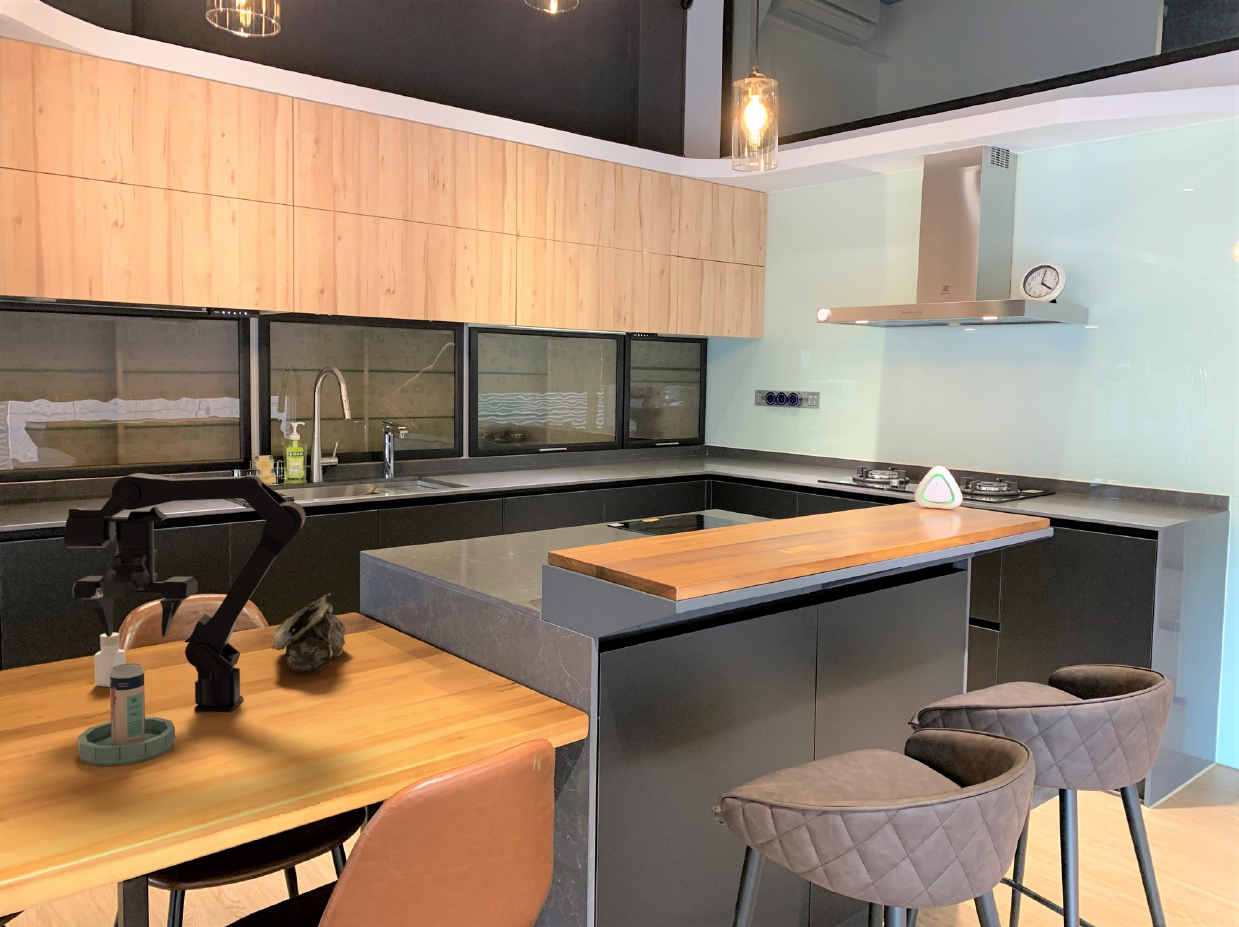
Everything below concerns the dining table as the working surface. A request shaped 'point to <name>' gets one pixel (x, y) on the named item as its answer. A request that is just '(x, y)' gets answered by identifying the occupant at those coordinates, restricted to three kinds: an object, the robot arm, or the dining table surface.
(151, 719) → the bowl
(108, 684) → the pepper shaker
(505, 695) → the dining table surface
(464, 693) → the dining table surface
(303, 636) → the driftwood piece
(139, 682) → the beer can
